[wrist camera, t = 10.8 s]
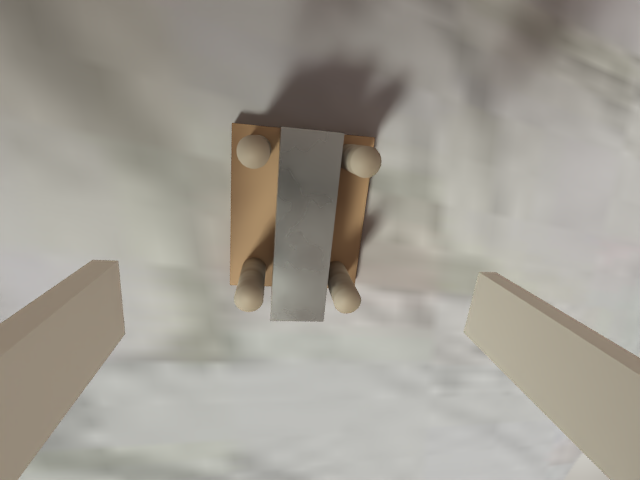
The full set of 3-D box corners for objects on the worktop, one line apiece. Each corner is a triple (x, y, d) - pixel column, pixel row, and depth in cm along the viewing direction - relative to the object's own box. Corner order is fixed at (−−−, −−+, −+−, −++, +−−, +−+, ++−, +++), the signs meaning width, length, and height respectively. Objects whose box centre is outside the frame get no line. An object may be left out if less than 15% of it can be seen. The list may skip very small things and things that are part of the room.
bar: (314, 287, 26) (323, 321, 21) (271, 286, 26) (270, 320, 21) (330, 133, 23) (344, 133, 18) (280, 128, 22) (281, 126, 17)
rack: (231, 279, 26) (219, 319, 20) (233, 123, 23) (219, 119, 17) (351, 283, 28) (370, 321, 22) (371, 137, 24) (400, 138, 18)
